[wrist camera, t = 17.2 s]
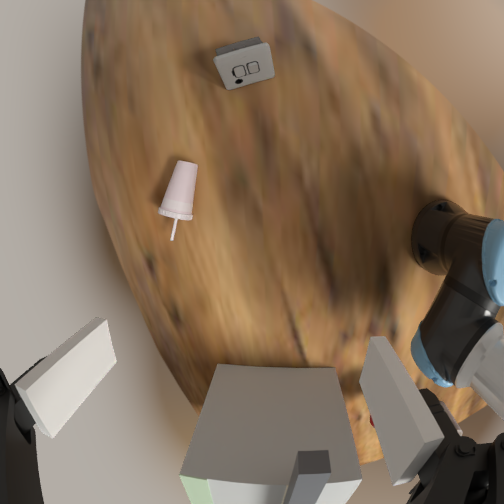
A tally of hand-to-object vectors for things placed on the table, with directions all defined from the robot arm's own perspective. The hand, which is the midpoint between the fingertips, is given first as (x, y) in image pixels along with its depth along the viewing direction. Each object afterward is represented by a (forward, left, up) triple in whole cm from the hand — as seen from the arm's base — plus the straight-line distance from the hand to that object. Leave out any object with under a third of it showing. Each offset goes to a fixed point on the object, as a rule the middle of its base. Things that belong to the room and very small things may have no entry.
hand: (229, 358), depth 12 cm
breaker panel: (-16, +34, -39) cm, 54 cm away
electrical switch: (+14, -27, -39) cm, 49 cm away
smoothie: (+17, -7, -36) cm, 40 cm away
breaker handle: (-18, +28, -8) cm, 34 cm away
